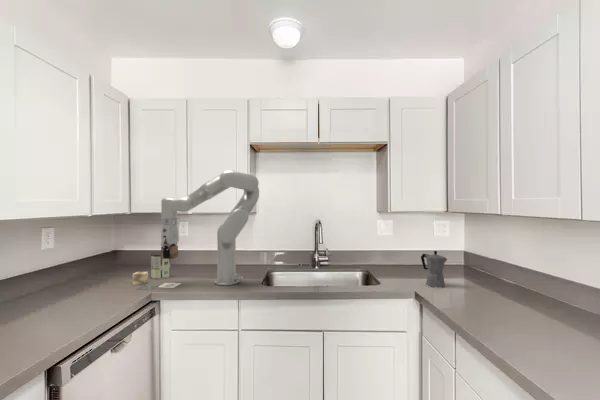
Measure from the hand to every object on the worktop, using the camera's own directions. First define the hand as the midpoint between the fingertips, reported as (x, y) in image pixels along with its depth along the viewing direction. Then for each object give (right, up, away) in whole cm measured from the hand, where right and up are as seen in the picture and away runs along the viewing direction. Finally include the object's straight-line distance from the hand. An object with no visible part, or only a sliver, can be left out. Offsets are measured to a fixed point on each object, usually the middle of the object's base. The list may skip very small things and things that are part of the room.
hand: (169, 256), depth 175 cm
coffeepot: (+137, -16, +3) cm, 138 cm away
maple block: (-17, -15, +4) cm, 23 cm away
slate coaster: (-9, -15, -5) cm, 18 cm away
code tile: (0, -15, 0) cm, 15 cm away
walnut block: (0, -1, 0) cm, 1 cm away
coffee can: (-12, -15, +18) cm, 27 cm away
